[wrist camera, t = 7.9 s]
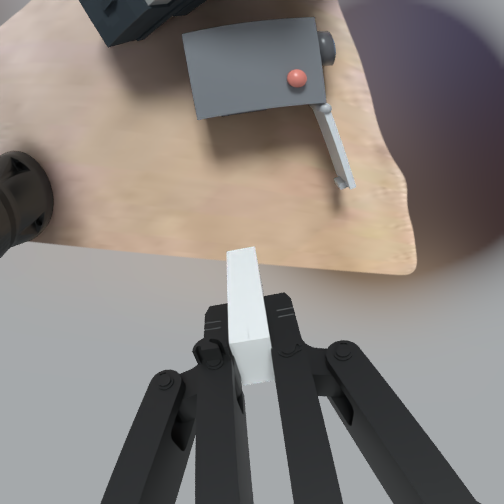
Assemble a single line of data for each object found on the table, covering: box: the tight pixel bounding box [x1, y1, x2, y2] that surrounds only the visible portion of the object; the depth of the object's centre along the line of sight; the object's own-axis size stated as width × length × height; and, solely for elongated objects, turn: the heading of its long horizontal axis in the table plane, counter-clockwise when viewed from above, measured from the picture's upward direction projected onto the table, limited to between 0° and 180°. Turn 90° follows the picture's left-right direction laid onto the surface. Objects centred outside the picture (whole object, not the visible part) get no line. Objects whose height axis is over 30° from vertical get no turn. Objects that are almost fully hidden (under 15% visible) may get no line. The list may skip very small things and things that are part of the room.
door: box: [309, 103, 356, 190], centre depth 37 cm, size 11×2×6 cm, turn 24°
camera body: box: [182, 17, 336, 120], centre depth 32 cm, size 16×10×8 cm, turn 98°
